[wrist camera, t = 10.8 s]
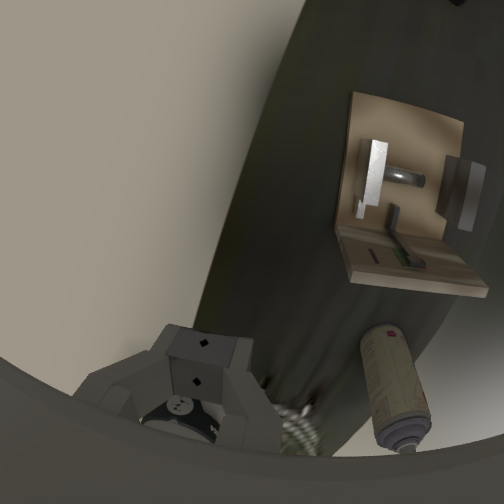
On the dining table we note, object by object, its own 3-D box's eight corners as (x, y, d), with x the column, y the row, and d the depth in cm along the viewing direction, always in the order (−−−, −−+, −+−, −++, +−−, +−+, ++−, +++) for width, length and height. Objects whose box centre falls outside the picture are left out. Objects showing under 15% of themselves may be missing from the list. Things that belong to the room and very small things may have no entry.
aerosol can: (394, 357, 41) (420, 466, 22) (354, 356, 41) (368, 471, 23) (408, 323, 38) (449, 436, 20) (366, 321, 39) (392, 443, 21)
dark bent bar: (393, 229, 31) (425, 268, 22) (381, 227, 31) (409, 266, 22) (399, 204, 30) (435, 235, 21) (386, 201, 30) (418, 232, 21)
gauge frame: (434, 244, 33) (484, 299, 20) (332, 228, 34) (349, 284, 22) (457, 122, 26) (527, 128, 14) (350, 93, 28) (383, 71, 15)
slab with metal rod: (404, 221, 30) (420, 237, 26) (350, 212, 31) (358, 227, 27) (418, 150, 27) (437, 155, 23) (361, 138, 28) (372, 139, 23)
